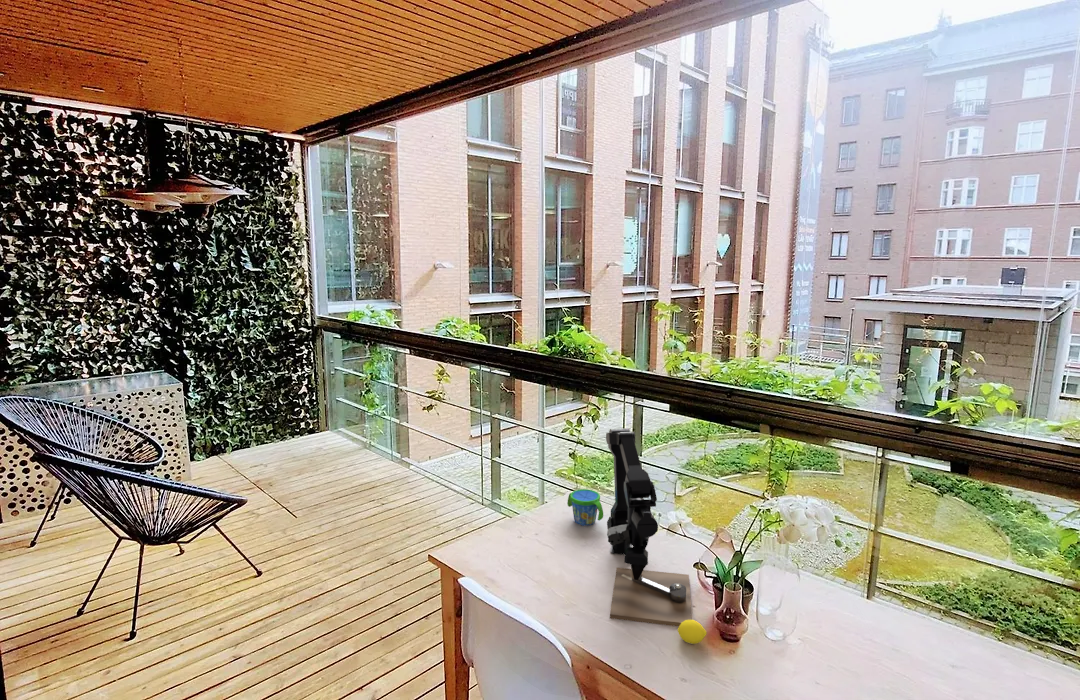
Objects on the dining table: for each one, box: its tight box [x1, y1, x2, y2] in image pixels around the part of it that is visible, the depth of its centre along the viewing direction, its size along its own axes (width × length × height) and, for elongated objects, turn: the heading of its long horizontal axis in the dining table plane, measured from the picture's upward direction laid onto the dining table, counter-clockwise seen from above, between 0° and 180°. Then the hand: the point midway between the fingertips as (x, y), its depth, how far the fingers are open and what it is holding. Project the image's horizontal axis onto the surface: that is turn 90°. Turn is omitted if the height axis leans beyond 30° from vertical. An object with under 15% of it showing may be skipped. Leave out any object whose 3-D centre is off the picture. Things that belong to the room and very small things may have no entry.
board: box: [609, 567, 693, 628], centre depth 158 cm, size 23×21×1 cm
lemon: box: [677, 619, 708, 645], centre depth 139 cm, size 7×5×5 cm
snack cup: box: [566, 488, 604, 527], centre depth 202 cm, size 16×10×10 cm
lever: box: [630, 567, 686, 603], centre depth 158 cm, size 17×4×7 cm, turn 49°
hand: (636, 571), depth 163 cm, fingers open, 8 cm apart
